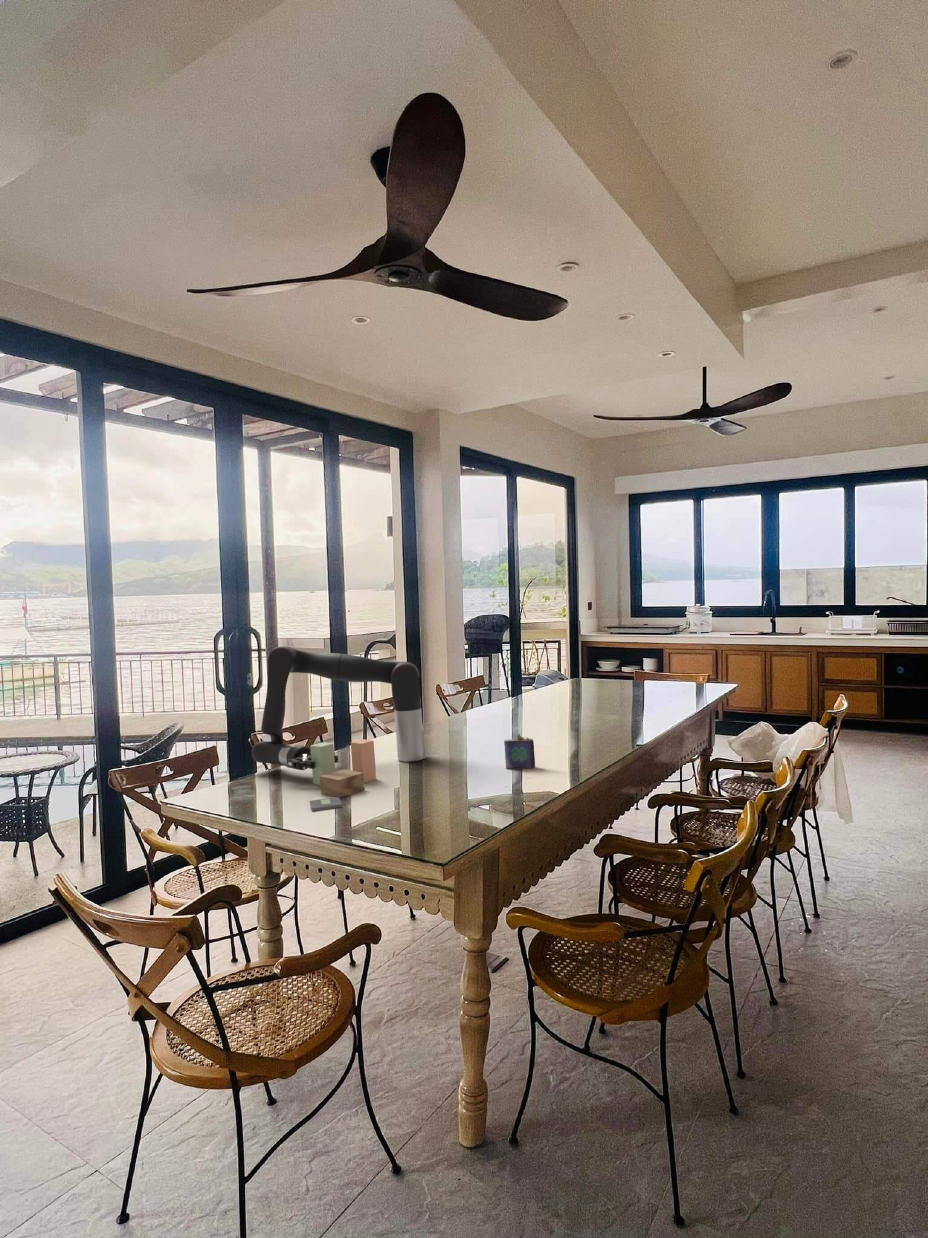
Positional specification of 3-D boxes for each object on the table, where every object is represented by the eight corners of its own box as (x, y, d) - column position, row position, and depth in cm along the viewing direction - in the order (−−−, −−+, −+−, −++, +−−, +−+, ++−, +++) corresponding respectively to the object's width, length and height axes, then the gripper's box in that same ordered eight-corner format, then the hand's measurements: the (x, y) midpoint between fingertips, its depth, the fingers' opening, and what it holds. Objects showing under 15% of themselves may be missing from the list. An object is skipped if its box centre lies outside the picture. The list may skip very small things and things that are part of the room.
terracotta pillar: (366, 777, 224) (363, 739, 224) (376, 779, 221) (373, 740, 221) (353, 780, 221) (350, 742, 220) (363, 783, 217) (360, 743, 217)
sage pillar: (326, 780, 224) (323, 742, 223) (336, 782, 220) (333, 743, 220) (313, 784, 220) (310, 745, 220) (322, 786, 217) (320, 747, 216)
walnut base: (345, 785, 215) (344, 769, 215) (364, 789, 209) (363, 772, 209) (320, 793, 209) (319, 776, 209) (339, 797, 203) (338, 780, 202)
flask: (505, 769, 222) (503, 735, 222) (506, 767, 225) (504, 733, 224) (535, 769, 220) (533, 734, 220) (535, 766, 223) (533, 732, 223)
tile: (338, 799, 201) (338, 796, 201) (342, 807, 193) (341, 803, 193) (309, 803, 199) (309, 800, 198) (312, 811, 191) (311, 807, 191)
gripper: (275, 749, 225) (305, 755, 214) (313, 741, 235) (343, 745, 224) (277, 773, 225) (307, 779, 214) (314, 763, 236) (345, 769, 225)
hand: (325, 762), depth 219 cm, fingers open, 8 cm apart
